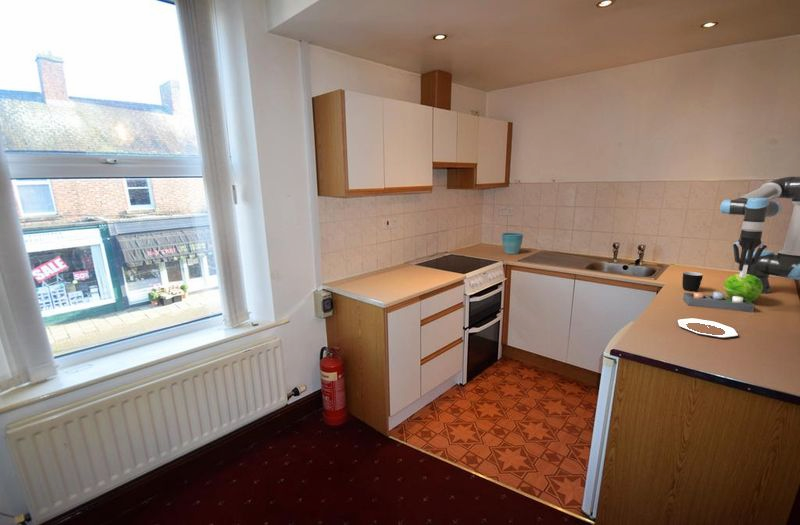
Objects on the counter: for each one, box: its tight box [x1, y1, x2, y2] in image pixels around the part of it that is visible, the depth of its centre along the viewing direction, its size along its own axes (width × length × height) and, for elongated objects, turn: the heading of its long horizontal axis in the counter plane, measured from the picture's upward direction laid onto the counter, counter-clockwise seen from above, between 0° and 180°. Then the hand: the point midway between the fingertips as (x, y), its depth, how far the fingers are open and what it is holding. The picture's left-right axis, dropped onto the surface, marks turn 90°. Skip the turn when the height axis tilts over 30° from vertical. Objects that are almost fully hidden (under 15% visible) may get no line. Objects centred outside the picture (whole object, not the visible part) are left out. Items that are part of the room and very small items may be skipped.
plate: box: [677, 317, 739, 339], centre depth 161 cm, size 20×20×2 cm
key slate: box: [712, 291, 725, 300], centre depth 188 cm, size 4×4×4 cm
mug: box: [681, 271, 704, 293], centre depth 216 cm, size 12×9×10 cm
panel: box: [682, 292, 755, 313], centre depth 189 cm, size 26×10×4 cm, turn 66°
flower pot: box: [501, 232, 524, 255], centre depth 324 cm, size 18×18×17 cm
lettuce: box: [722, 273, 763, 302], centre depth 196 cm, size 15×23×16 cm
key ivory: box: [732, 296, 743, 302], centre depth 186 cm, size 4×4×4 cm
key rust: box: [693, 291, 705, 298], centre depth 192 cm, size 4×4×4 cm
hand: (742, 277), depth 183 cm, fingers closed
